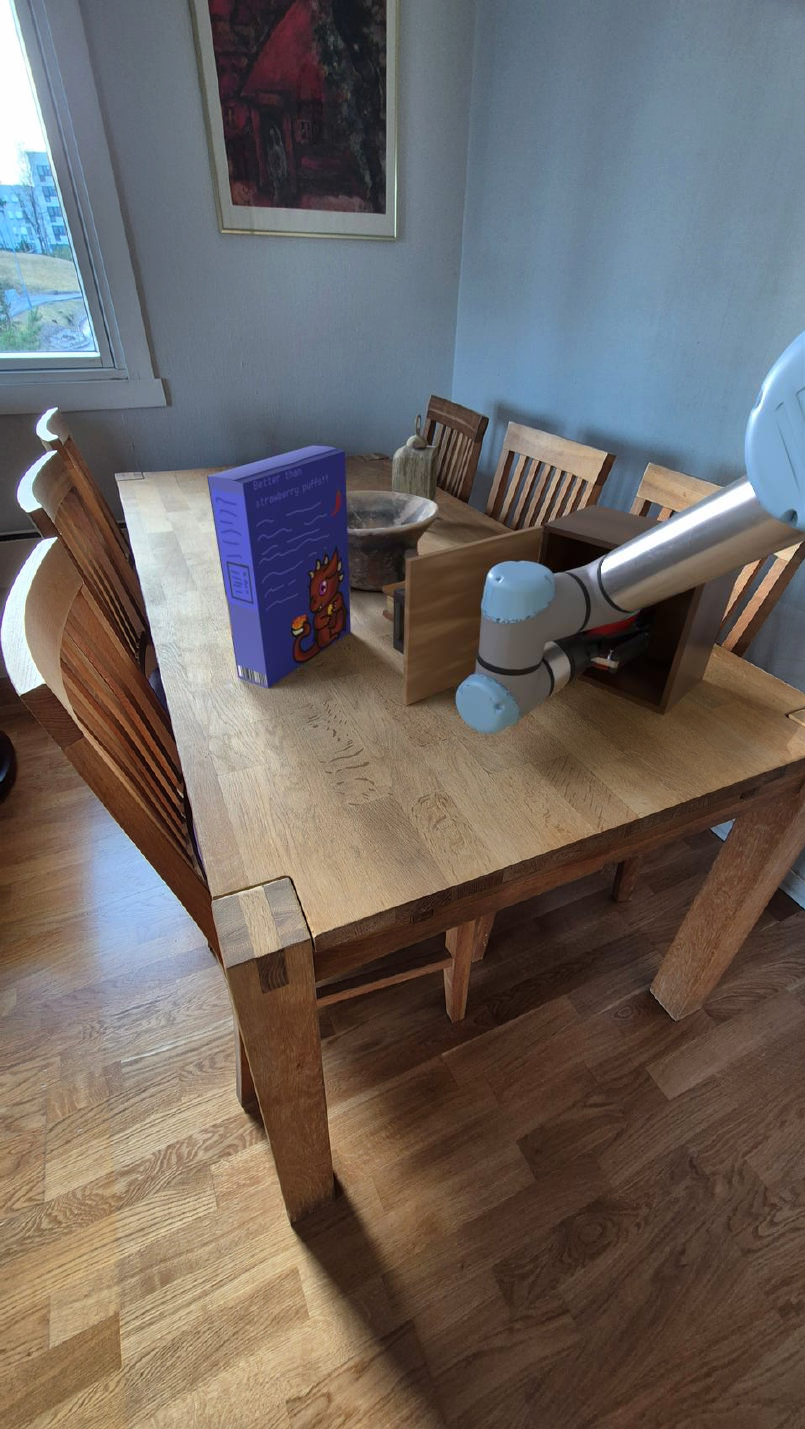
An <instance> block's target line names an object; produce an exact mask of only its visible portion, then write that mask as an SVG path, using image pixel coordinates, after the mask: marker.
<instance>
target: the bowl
mask: <svg viewBox="0 0 805 1429" xmlns="http://www.w3.org/2000/svg"><path fill="white" fill-rule="evenodd" d="M346 497H347V528H348V559H349V588H354V589H356V590H364V591H371V592H372V591H373V592H374V591H375V592H377V591H378V592H381V591H382V587H384V586H387V585H391V584H395V583H399V582H403V581H405V579H406V559H408V558H412V557H416V556H420V553H419V548H418V544H419V540H420V539H421V538H422V537H423V535H424V534H425V532H427V530H428V529H429V528H430V527H431V526H432V525H433V524H434V523H435V521H436V520H437V519H438V518H439V515H440V513H441V507H440V505H439V504H438V503H434V502H433V501H431V500H429V499H426V498H422V497H419V496H415V495H411V494H404V493H397V492H392V491H388V490H387V491H386V490H385V491H383V490H350V491H346Z"/></svg>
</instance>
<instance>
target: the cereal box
mask: <svg viewBox="0 0 805 1429" xmlns="http://www.w3.org/2000/svg"><path fill="white" fill-rule="evenodd" d="M346 467H347V466H346V451H345V450H343V449H339V448H337V447H333V446H328V445H327V446H325V445H309V446H305V447H302V448H299V449H296V450H292V451H288V452H285V453H281V454H278V455H274V456H272V457H268V458H265V459H261V460H258V461H254V462H251V463H247V464H244V465H240V466H237V467H233V468H230V469H226V470H223V471H220V472H216V473H212V474H209V475H206V478H207V485H208V490H209V498H210V505H211V511H212V517H213V518H212V519H213V525H214V529H215V530H214V531H215V538H216V543H217V550H218V556H219V563H220V569H221V577H222V582H223V590H224V595H225V603H226V607H227V615H228V620H229V629H230V634H231V640H232V647H233V654H234V660H235V666H236V673H237V678H239V679H241V680H244V681H247V682H249V683H252V684H255V685H258V686H261V687H264V688H266V689H269V688H271V687H273V686H274V685H275V684H277V683H278V682H280V681H281V680H283V679H284V678H286V677H287V676H288V675H290V674H291V673H293V672H294V671H295V670H298V669H299V668H300V667H301V666H303V665H304V664H306V663H307V662H309V661H311V660H312V659H313V658H315V657H316V656H318V655H319V654H320V653H322V652H323V651H325V650H326V649H328V648H329V647H331V646H333V645H334V644H335V643H336V642H338V641H339V640H341V639H343V638H344V637H345V636H347V635H348V634H350V633H351V632H352V625H351V624H352V623H351V621H352V620H351V596H350V595H351V593H350V592H351V591H350V587H349V559H348V528H347V497H346V492H347V471H346V470H347V468H346Z"/></svg>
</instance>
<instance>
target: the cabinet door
mask: <svg viewBox="0 0 805 1429" xmlns="http://www.w3.org/2000/svg"><path fill="white" fill-rule="evenodd" d="M543 528H544V526H542V525H539V524H537V525H534V526H530V527H526V528H522V529H518V530H513V531H510V532H506V533H502V534H498V535H495V536H490V537H487V538H482V539H479V540H475V541H471V542H467V543H463V544H458V545H455V546H452V547H447V548H443V549H438V550H436V551H432V552H427V553H424V554H421V555H420V554H419V556H416V557H412V558H408V559H406V579H405V589H404V588H401V587H397V588H395V589H394V615H393V622H392V624H393V625H392V626H393V627H392V629H393V630H392V632H393V634H392V648H393V649H394V650H396V651H397V652H399V653H401V654H402V655H403V668H402V670H403V671H402V672H403V673H402V674H403V675H402V703H403V704H404V705H405V706H409V705H411V704H414V703H416V702H418V701H421V700H424V699H426V698H430V697H431V696H434V695H436V694H439V693H442V692H443V691H446V690H448V689H451V688H453V687H456V686H458V685H459V686H460V685H461V683H462V682H463V681H465V680H466V679H467V678H468V677H469V676H470V675H472V674H474V673H475V670H476V659H477V654H478V650H479V643H480V628H481V612H482V611H481V602H482V599H483V593H484V586H485V584H486V578H487V575H488V573H489V571H490V570H491V569H492V568H493V567H494V566H496V565H498V564H500V563H503V562H508V561H514V562H520V561H528V562H534V563H537V564H538V561H539V555H540V548H541V541H542V535H543Z"/></svg>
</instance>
